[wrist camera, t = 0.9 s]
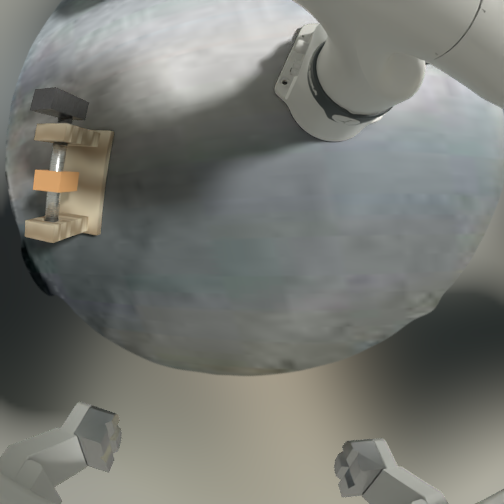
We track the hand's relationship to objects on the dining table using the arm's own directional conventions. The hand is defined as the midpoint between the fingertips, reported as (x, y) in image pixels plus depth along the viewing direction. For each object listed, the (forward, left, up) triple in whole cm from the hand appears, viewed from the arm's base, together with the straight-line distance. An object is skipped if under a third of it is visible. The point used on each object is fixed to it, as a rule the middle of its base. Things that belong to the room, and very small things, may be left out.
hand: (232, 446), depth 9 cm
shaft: (-7, -30, -36) cm, 47 cm away
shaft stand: (-5, -30, -42) cm, 52 cm away
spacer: (-5, -30, -36) cm, 47 cm away
